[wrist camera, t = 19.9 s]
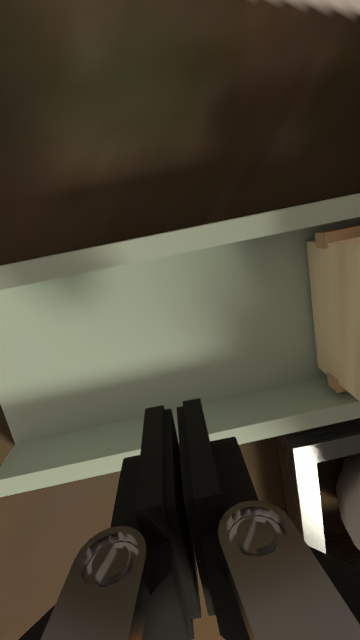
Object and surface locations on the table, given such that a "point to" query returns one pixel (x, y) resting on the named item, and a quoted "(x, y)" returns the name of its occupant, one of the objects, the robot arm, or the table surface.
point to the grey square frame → (316, 482)
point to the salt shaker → (350, 496)
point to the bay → (163, 342)
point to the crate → (337, 305)
